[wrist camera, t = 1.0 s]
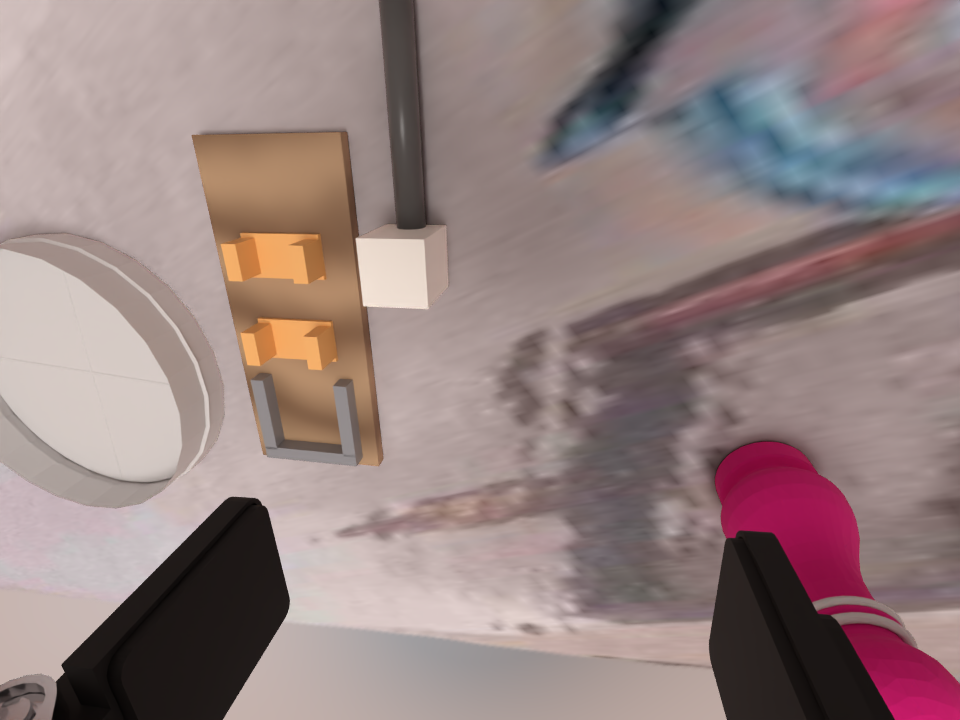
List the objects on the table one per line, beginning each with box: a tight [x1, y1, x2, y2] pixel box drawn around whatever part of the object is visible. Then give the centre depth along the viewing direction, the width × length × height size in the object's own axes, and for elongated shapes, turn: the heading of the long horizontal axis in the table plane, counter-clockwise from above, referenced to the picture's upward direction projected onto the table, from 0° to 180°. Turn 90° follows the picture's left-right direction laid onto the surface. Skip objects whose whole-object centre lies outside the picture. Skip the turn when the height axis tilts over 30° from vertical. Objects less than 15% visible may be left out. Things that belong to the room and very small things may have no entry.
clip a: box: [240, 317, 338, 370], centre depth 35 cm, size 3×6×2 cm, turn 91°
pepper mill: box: [715, 442, 960, 720], centre depth 26 cm, size 7×7×20 cm
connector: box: [356, 0, 449, 309], centre depth 29 cm, size 17×4×5 cm, turn 1°
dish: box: [0, 233, 224, 508], centre depth 40 cm, size 22×22×5 cm
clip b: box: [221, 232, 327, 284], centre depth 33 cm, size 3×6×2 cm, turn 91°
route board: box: [192, 132, 383, 466], centre depth 36 cm, size 24×10×1 cm, turn 1°
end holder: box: [251, 373, 363, 466], centre depth 39 cm, size 7×8×1 cm
